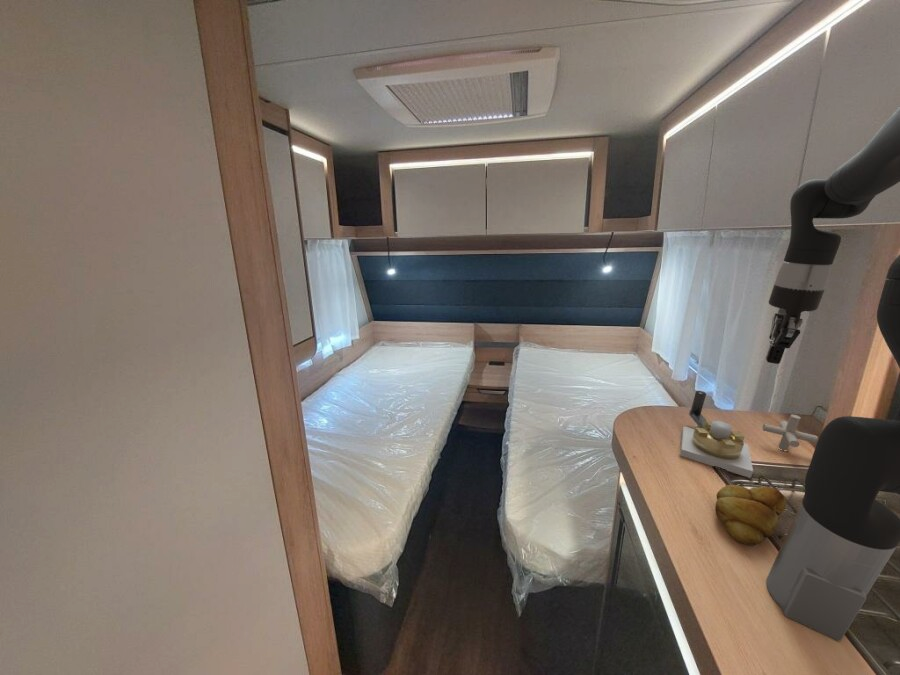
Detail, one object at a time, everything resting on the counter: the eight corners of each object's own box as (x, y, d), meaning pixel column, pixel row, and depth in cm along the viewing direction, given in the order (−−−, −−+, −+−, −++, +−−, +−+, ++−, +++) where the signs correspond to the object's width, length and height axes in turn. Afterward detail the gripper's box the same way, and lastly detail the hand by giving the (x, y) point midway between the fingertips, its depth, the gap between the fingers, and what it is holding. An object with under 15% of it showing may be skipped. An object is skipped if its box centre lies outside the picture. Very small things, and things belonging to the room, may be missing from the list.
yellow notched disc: (749, 461, 82) (760, 430, 79) (703, 456, 84) (712, 425, 81) (710, 419, 99) (718, 392, 96) (672, 415, 101) (679, 389, 98)
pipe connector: (815, 467, 83) (830, 433, 80) (761, 453, 88) (774, 420, 85) (802, 445, 91) (816, 412, 88) (754, 433, 96) (765, 402, 93)
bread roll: (763, 561, 61) (778, 528, 58) (700, 525, 68) (710, 494, 66) (778, 522, 69) (792, 491, 66) (720, 493, 76) (730, 464, 73)
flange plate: (750, 478, 80) (761, 448, 77) (679, 455, 88) (687, 427, 85) (745, 450, 89) (755, 423, 86) (681, 432, 97) (689, 406, 94)
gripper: (834, 293, 63) (802, 377, 69) (816, 281, 74) (789, 356, 80) (780, 288, 67) (753, 368, 73) (770, 278, 78) (747, 349, 84)
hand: (772, 361), depth 76 cm, fingers closed
